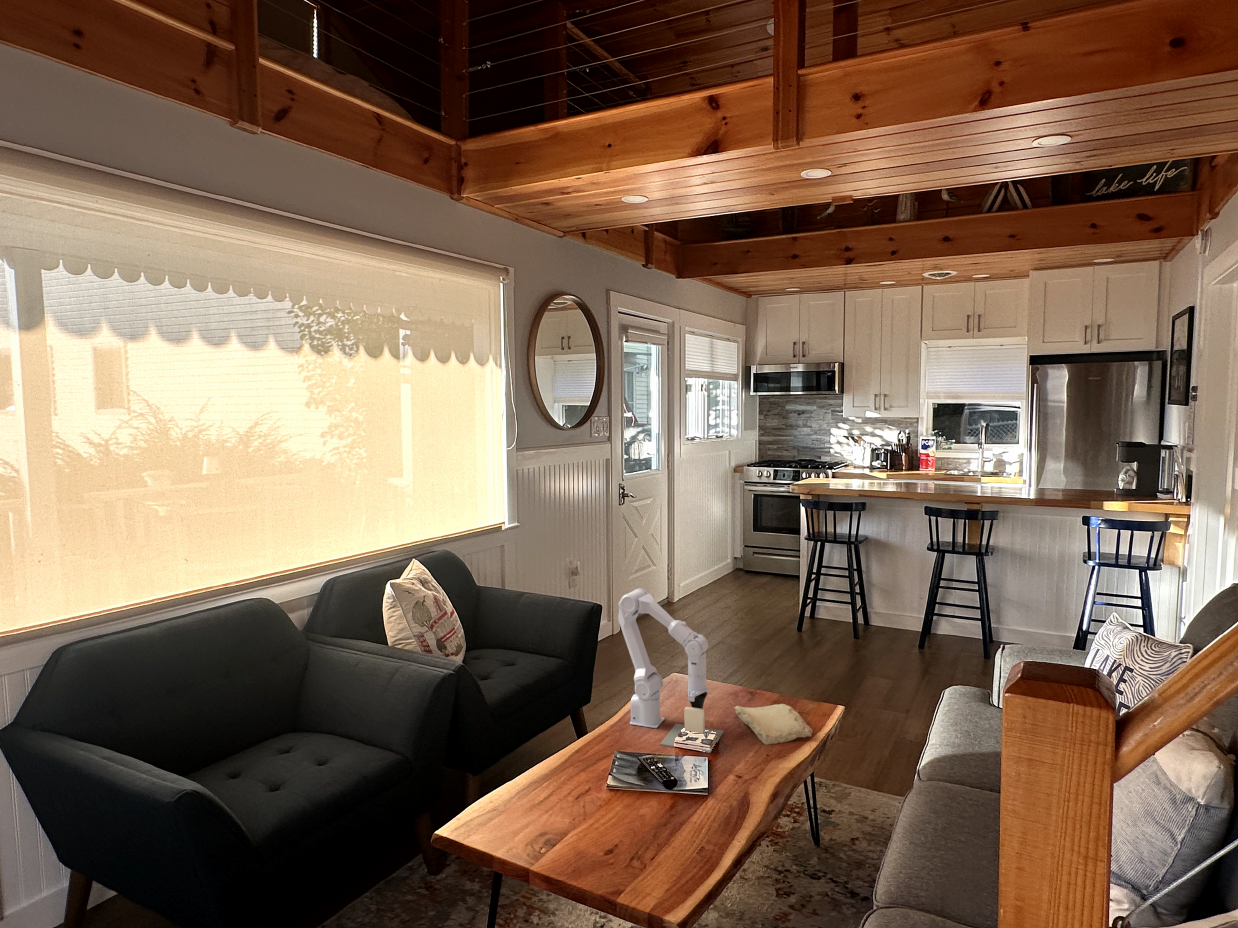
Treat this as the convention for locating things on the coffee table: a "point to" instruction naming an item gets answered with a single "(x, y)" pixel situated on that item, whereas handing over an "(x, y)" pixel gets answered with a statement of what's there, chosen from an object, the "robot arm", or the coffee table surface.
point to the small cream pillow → (774, 723)
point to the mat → (677, 729)
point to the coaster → (694, 719)
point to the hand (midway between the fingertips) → (697, 715)
